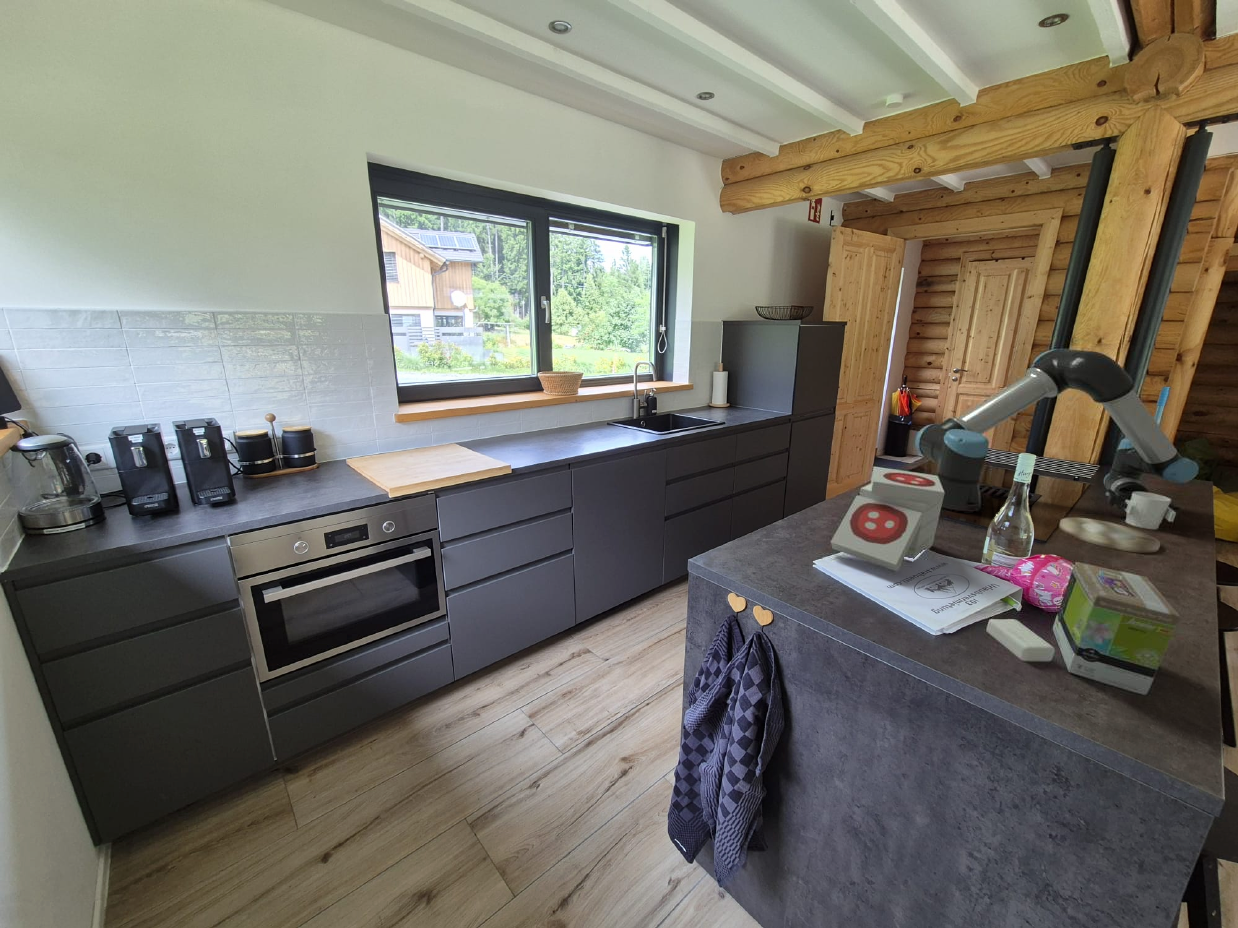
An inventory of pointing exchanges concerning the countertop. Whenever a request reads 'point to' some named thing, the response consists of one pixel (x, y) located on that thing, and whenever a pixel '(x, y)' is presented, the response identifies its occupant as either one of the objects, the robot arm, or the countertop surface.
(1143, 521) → the white cup
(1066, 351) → the robot arm
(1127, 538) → the turntable platter
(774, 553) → the countertop surface
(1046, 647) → the soap
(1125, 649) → the tea box
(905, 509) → the pizza boxes
